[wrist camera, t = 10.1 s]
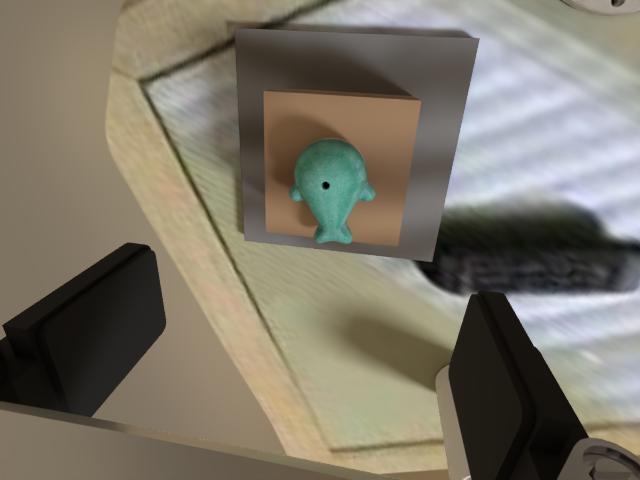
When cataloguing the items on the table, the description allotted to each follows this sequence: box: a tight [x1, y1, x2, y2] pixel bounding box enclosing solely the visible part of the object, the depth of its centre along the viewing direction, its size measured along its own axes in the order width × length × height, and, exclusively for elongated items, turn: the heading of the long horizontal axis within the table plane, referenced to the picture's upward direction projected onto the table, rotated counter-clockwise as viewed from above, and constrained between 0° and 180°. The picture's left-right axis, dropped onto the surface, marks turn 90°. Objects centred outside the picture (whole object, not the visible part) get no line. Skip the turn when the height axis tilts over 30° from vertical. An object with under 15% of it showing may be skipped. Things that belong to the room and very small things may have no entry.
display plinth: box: [235, 28, 480, 262], centre depth 27 cm, size 18×18×7 cm
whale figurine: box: [289, 138, 375, 244], centre depth 23 cm, size 6×7×4 cm
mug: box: [435, 364, 471, 480], centre depth 33 cm, size 10×7×12 cm, turn 87°
